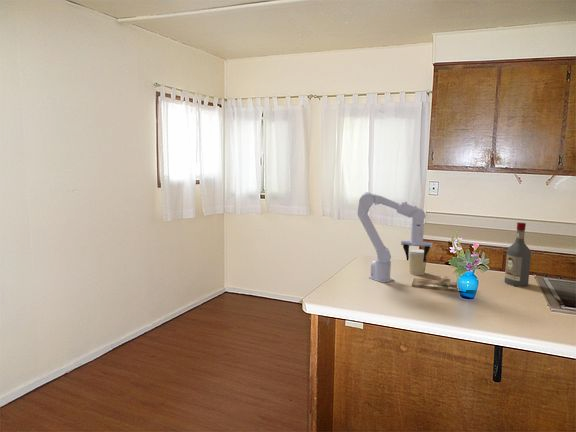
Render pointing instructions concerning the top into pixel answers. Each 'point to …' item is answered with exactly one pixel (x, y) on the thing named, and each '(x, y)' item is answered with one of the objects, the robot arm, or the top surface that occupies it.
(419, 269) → the coffee cup
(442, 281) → the gauge slider
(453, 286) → the gauge base
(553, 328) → the top surface
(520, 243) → the liquor
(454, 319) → the top surface
